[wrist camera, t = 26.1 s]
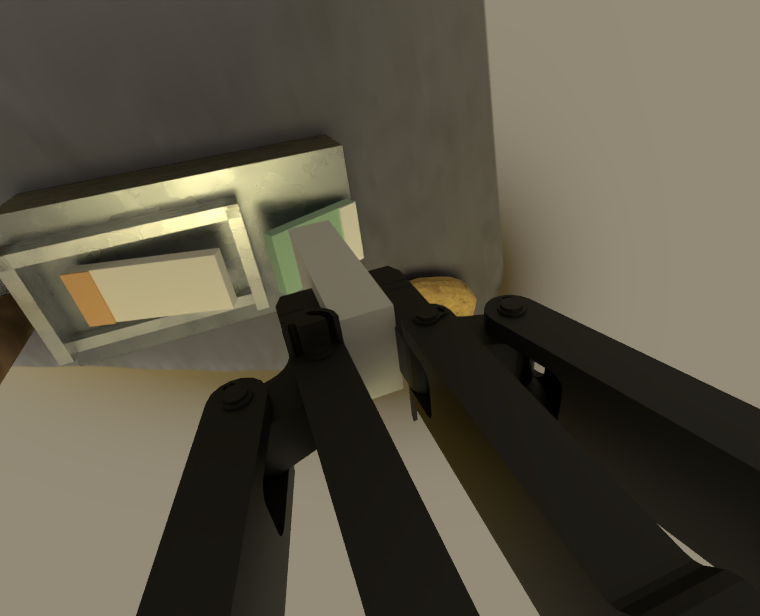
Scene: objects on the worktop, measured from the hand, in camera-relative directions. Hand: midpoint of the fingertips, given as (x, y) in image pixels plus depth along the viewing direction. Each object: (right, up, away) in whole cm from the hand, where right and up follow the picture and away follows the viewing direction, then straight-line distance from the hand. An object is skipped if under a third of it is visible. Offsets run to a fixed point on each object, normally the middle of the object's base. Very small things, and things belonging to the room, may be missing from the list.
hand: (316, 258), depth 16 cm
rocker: (-14, 0, +16) cm, 21 cm away
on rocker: (-3, +3, +18) cm, 19 cm away
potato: (+7, 0, +35) cm, 36 cm away
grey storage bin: (-14, +5, +24) cm, 28 cm away
